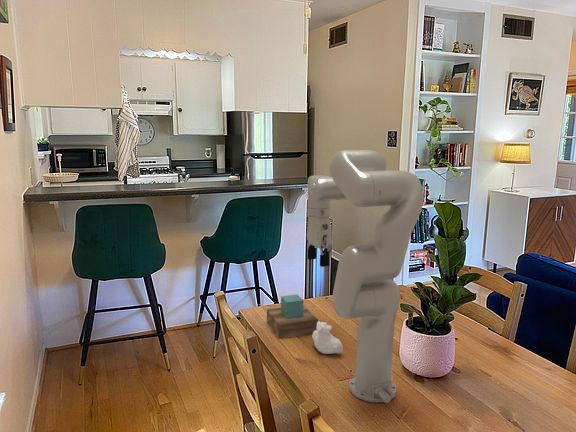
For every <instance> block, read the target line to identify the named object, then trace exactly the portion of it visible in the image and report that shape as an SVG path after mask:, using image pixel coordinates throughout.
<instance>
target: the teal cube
mask: <svg viewBox="0 0 576 432" xmlns="http://www.w3.org/2000/svg"><path fill="white" fill-rule="evenodd" d="M280 301H281V302H280V308H281V313H282V314H283V315H284V316H285V317H286V318H287V319H289V318H296V317H303V305H304V299H303V298H302V297H300V296H299V295H298V294H289V295H281V296H280Z"/></svg>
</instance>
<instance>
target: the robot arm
mask: <svg viewBox="0 0 576 432" xmlns="http://www.w3.org/2000/svg"><path fill="white" fill-rule="evenodd" d="M386 169H387V161H386V159H385V156H383V155H382V154H381V153H380V152H378V151H377V150H373V149H345V150H340V151H339V150H338V151H337V152H336V153H335V154H333V156H332V157H331V159H330V163H329V174H330V176H328V175H321V174H319V175H317V174H316V175H310V176H309V177H308V178H307V210H306V211H307V213H306V214H307V218H308V219H307V229H306V230H307V233H306V243H307V245H306V246H307V260H317V255H318V254H317V253H318V251H317V249H319V251H320V254H319V267H321V268H323V267H329V266H330V255H331V251H332V249H331V248H332V247H333V246H332V245H333V244H332V243H333V242H332V239H333V238H332V236H333V235H332V223H331V201H345V200H346V201H347V200H348V201H349V203H351V204H352V205H354V206H355V207H359V208H368V207H369V208H371V207H386V206H387V207H388V206H389V207H390V208H388V210H387V211H386V212H385V213H384V214H383V215H382V217H381V218H380V219H379V220H378V221H377V223H376V226H375V229H374V234H373V238H372V240H371V241H370V242H368V243H357V244H352V245H349V246H347V247H346V248H344V250H343V251H342V252H341V254H340V256H339V259H338V264H337V270H336V274H335V275H336V276H335V280H334V285H333V292H332V306H333V310H334V312H335V313H336V315H337V316H339V317H340V318H343V319H348V320H349V319H351V320H352V319H357V318H360V319H359V322H358V324H357V330H356V350H355V351H356V352H355V376H353V377H351V379H350V380H349V383H348V384H349V385H348V388H349V391H350V394H351V393H352V395H353V396H354V397H356V398H357V399H360V400H362V401H365V402H369V403H385V404H388V403H390V402H391V400H393V399H394V398H395V397H396V395H397V385H396V384H395V383H394V381H392V368H393V367H392V366H393V351H394V350H393V349H394V334H395V324H396V323H395V322H396V317H397V312H398V309H399V306H400V300H401V292H400V291H401V290H400V287H399V286H398V284H397V283H396V282H395V281H394V279H395V278H397V277H398V276H399V275H400V274H401V271H402V268H403V266H404V263H405V258H406V254H407V253H408V252H407V251H408V247H409V243H410V240H411V235H412V233H413V230H414V227H416V224H417V222H418V220H419V218H420V215H421V212H422V209H423V204H424V189H423V185H422V182H421V181H420V179H419V177H417V176H416V175H415V174H414V173H412V172H410V171H405V170H398V169H395V170H394V169H393V170H390V169H388V170H386Z"/></svg>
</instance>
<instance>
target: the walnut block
mask: <svg viewBox="0 0 576 432" xmlns="http://www.w3.org/2000/svg"><path fill="white" fill-rule="evenodd" d="M318 321H319V319H318V317H316V316H315V315H314V314H313V313H312V312H311V311H310V310H309V309H308V308H307V307H306V306H305V305H304V304H303V317H296V318H289V319H287V318H286V317H285V316H284V315H283V314H282V313H281V307H275V308H268V309H266V323H267V324H268V326H269V327H270V328H271V330H272V331H273V332H274V334H275V335H276V336H277V338H278V339H279V340H281V339H288V338H294V337H300V336H307V335H313V332H314V331H315V330H317V329H316V327H317V322H318Z"/></svg>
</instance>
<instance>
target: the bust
mask: <svg viewBox="0 0 576 432" xmlns="http://www.w3.org/2000/svg"><path fill="white" fill-rule="evenodd" d="M316 329H317V330H315V331H314V332H313V334H311V337H312V340H313V343H314V347H315V348H316V349H317V351H318V352H319V353H322V354H323V355H330V354H331V355H332V354H337V355H338V354H339V355H340V354H342V352H343V350H344V346H343V344H342V342H341V340H340V339H339V338H337V337H335V336H333V333H331V330H333V325H331V324H328V323H327V322H326V321H320V320H318V322H317V327H316Z"/></svg>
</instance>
